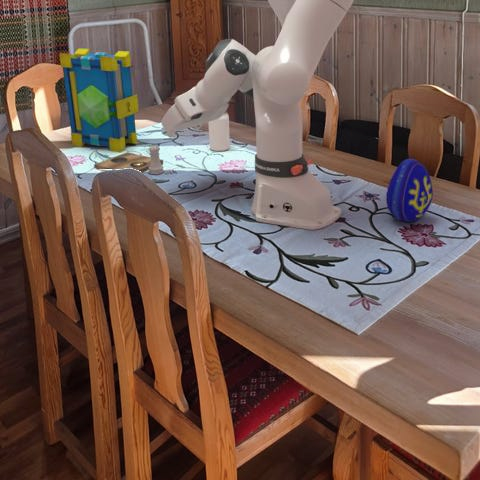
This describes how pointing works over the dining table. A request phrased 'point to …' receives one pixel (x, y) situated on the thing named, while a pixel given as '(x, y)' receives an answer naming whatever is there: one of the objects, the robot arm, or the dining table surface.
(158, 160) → the white chess piece
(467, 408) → the dining table surface
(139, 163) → the brass bolt head
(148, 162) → the gauge board
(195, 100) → the robot arm
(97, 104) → the decorative book
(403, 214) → the ornament
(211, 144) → the can
